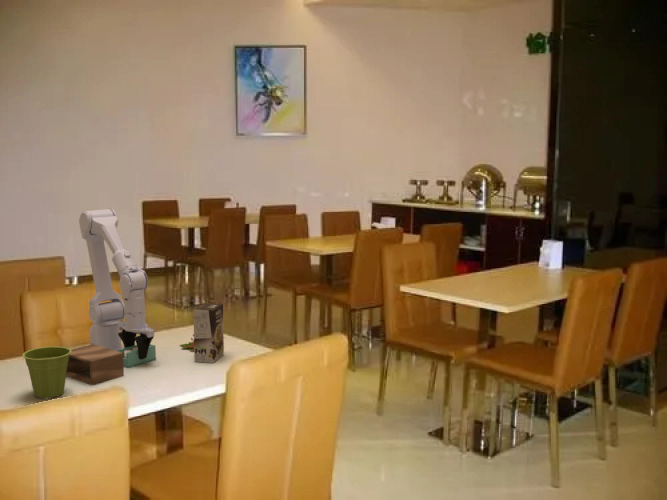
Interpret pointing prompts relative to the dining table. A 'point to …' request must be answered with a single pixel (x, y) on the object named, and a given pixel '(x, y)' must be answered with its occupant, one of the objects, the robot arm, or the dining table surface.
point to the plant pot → (47, 370)
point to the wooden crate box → (95, 364)
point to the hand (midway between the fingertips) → (136, 356)
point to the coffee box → (208, 332)
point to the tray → (136, 356)
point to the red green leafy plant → (189, 345)
